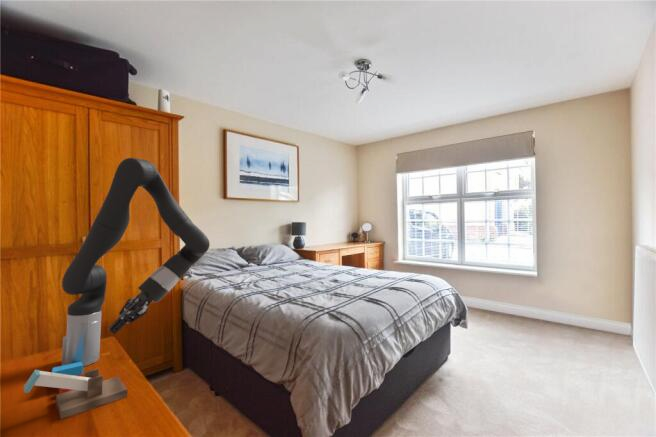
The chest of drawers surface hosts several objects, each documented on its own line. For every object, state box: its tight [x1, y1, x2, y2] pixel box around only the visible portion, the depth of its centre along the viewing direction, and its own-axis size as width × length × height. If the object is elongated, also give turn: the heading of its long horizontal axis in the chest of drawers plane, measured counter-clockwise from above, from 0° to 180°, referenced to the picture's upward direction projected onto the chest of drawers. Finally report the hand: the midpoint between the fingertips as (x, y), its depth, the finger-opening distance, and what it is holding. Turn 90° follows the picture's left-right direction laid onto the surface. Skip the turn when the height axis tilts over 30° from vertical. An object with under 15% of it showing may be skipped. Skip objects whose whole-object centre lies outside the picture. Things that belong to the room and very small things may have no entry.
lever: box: [51, 362, 84, 394], centre depth 90 cm, size 7×7×18 cm
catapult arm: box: [23, 369, 90, 394], centre depth 78 cm, size 4×4×14 cm
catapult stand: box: [55, 368, 128, 420], centre depth 82 cm, size 14×10×7 cm
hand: (111, 331), depth 85 cm, fingers closed
